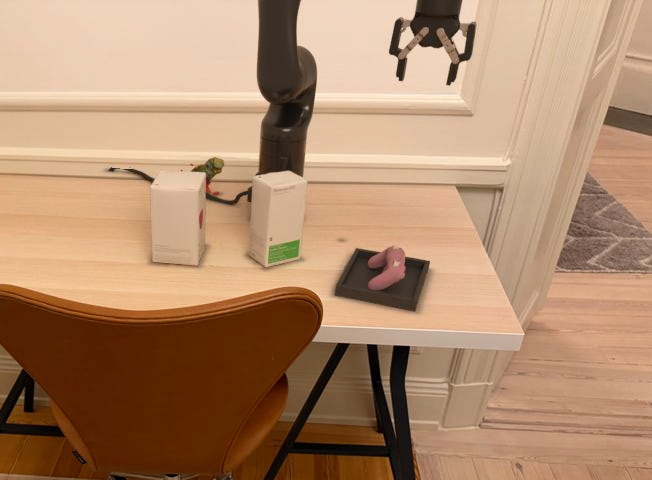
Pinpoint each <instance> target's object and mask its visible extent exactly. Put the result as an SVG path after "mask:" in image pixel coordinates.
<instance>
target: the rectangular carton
mask: <svg viewBox="0 0 652 480" xmlns="http://www.w3.org/2000/svg"><path fill="white" fill-rule="evenodd" d="M154 179H155V180H154V182H151V184H150V186H149V195H150V198H149V199H150V225H151V227H150V228H151V230H150V231H151V251H152V252H151V257H152V259H151V260H152V263H162V264H163V263H164V264H172V265H173V264H174V265H185V266H197V267H198V265H199V264H200V261H201V258H202V255H203V253H204V251H205V247H206V215H207V214H206V211H207V210H206V209H207V208H206V207H207V206H206V205H207V204H206V200H207V198H206V194H207V190H206V173H203V172H190V171H185V170H182V171H181V170H172V169H171V170H169V169H161V170H160V171H159V172H158V173H157V175H156V176H155V177H154Z"/></svg>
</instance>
